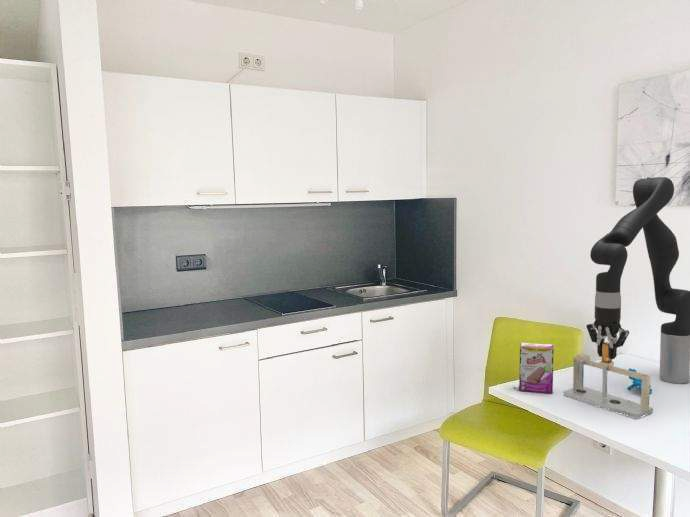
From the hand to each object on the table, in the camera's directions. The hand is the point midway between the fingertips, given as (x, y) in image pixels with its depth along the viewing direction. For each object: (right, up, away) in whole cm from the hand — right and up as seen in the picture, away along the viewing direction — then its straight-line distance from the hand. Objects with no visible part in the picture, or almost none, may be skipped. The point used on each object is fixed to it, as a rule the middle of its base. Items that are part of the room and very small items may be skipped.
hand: (606, 357), depth 169 cm
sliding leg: (0, -13, +1) cm, 13 cm away
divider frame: (0, -15, +1) cm, 15 cm away
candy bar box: (-18, -15, +14) cm, 27 cm away
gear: (+17, -14, +10) cm, 24 cm away
